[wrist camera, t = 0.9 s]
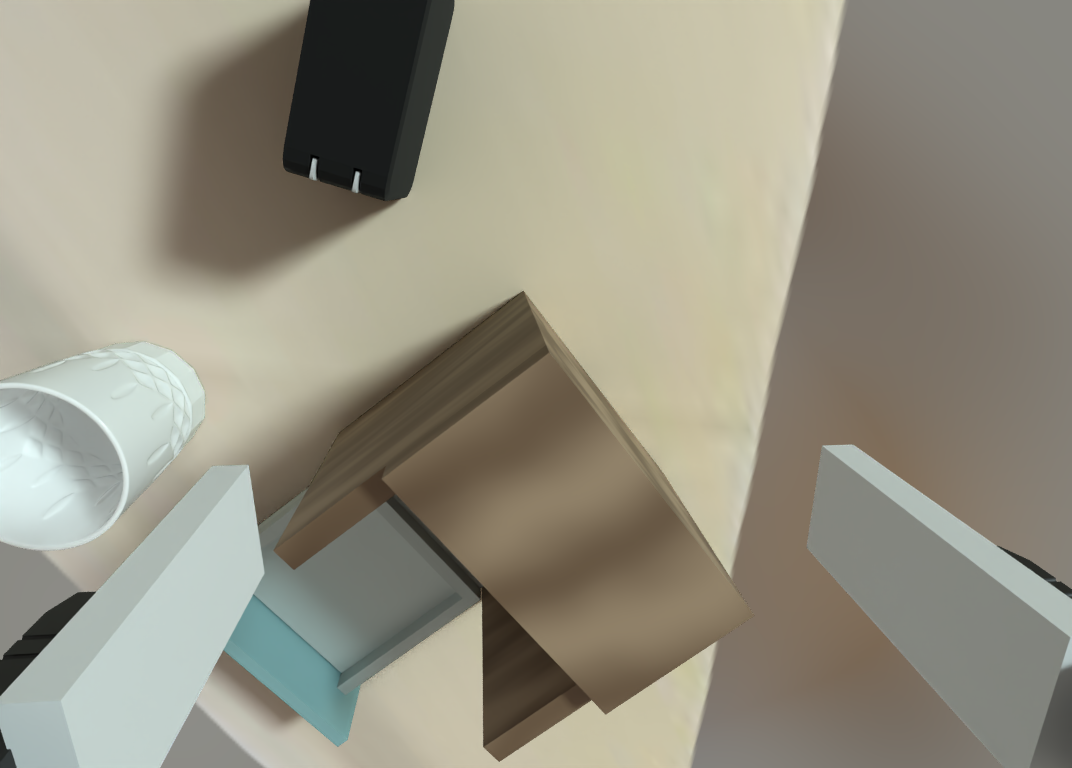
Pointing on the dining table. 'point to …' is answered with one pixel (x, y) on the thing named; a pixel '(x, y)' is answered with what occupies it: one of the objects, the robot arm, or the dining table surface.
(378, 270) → the dining table surface
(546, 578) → the wooden drawer box
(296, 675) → the teal drawer
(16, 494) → the white cup
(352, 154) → the electronic device
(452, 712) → the dining table surface
